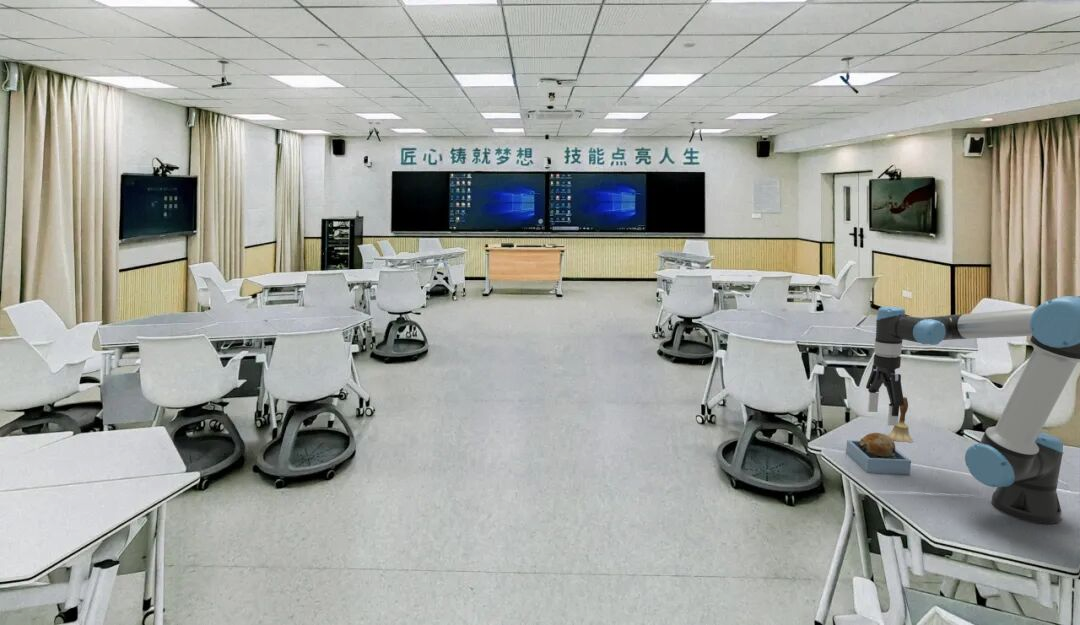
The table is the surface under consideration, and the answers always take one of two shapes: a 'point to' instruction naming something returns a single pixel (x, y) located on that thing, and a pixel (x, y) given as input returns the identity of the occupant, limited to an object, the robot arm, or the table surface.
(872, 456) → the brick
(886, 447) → the bread roll
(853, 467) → the table surface
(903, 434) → the hand bell
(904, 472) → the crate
